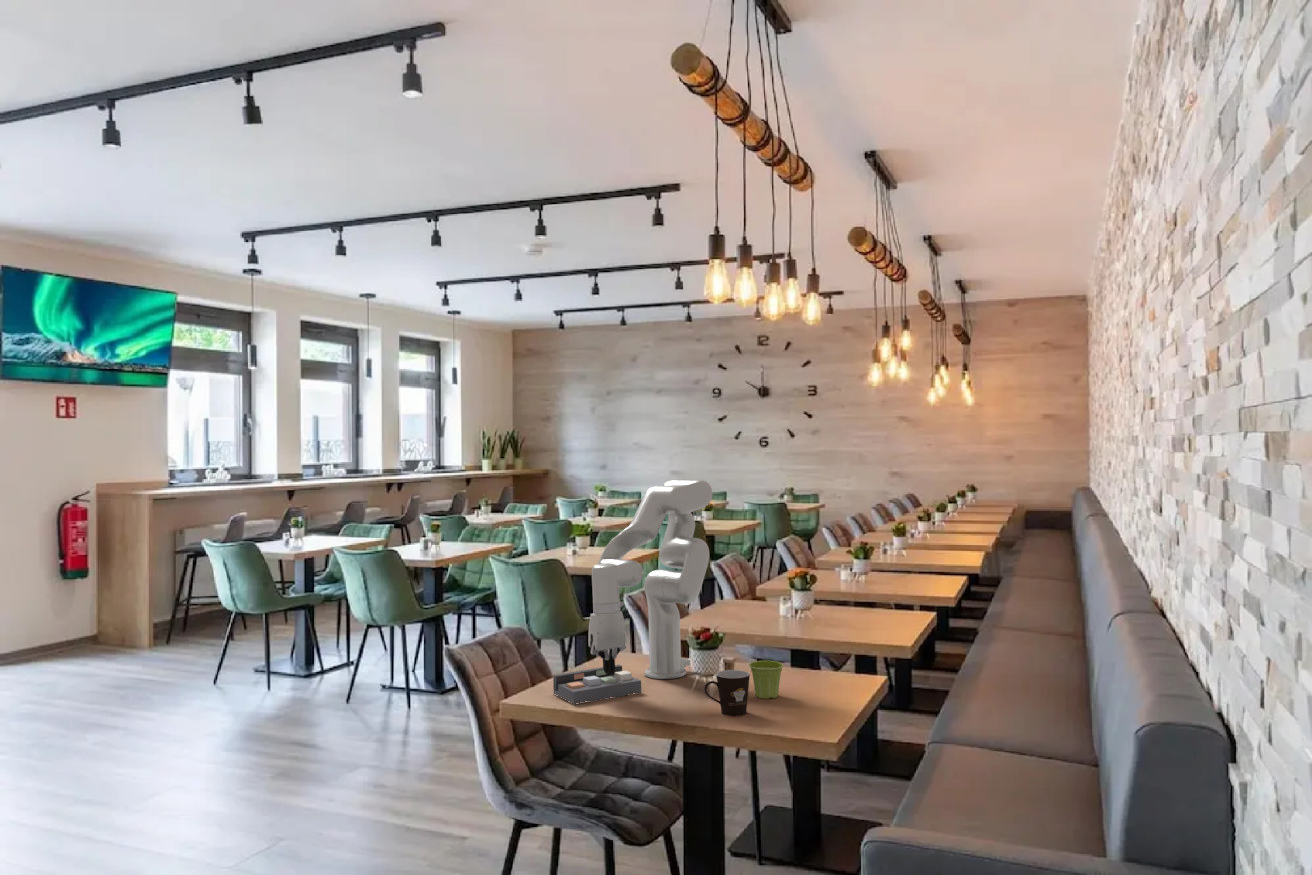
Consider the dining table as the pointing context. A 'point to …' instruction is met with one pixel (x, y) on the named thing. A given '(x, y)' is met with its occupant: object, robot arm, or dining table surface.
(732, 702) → the coffee mug
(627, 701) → the dining table surface
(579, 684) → the key terracotta
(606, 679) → the key sage
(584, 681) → the key slate
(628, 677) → the key cream
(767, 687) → the plant pot
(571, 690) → the keypad
